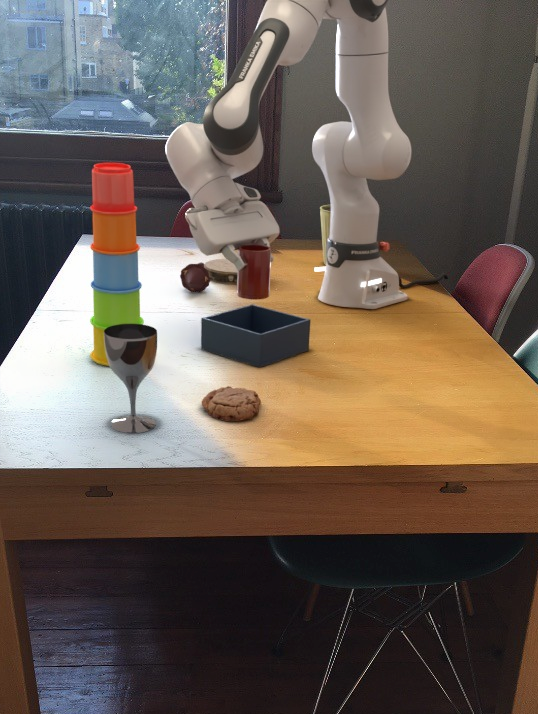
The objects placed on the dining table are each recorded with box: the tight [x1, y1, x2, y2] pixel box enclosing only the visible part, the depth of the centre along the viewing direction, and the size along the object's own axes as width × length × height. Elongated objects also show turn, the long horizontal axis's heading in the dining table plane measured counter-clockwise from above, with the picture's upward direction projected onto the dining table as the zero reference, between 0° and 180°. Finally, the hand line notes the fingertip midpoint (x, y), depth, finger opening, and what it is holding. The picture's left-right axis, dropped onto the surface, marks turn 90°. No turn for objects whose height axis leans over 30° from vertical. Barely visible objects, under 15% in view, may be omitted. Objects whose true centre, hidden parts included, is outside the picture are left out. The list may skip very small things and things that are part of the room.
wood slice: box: [204, 258, 237, 285], centre depth 227 cm, size 16×16×3 cm
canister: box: [236, 245, 272, 301], centre depth 167 cm, size 6×6×9 cm
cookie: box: [201, 385, 262, 422], centre depth 144 cm, size 10×11×3 cm
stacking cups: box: [89, 162, 145, 367], centre depth 158 cm, size 10×10×35 cm
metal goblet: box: [104, 324, 158, 434], centre depth 135 cm, size 8×8×15 cm
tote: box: [200, 303, 312, 368], centre depth 172 cm, size 15×15×6 cm
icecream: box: [179, 262, 211, 293], centre depth 211 cm, size 7×7×15 cm
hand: (256, 265), depth 166 cm, fingers closed on canister, 6 cm apart
